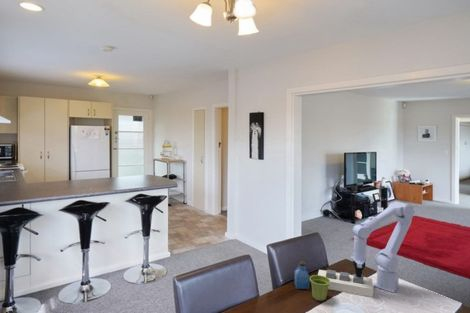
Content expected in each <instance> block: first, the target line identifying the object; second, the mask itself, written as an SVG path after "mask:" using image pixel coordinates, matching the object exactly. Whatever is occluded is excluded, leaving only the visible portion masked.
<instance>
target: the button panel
mask: <svg viewBox="0 0 470 313" xmlns="http://www.w3.org/2000/svg"><path fill="white" fill-rule="evenodd" d="M326 273H327V270H324V269H318V273H317V275H321V276H324V277H326ZM328 279H330V281H331V282H330V284H329V286H328V290H333V291H337V292H343V293H347V294H353V295H359V296H364V297H369V298H374V284H373V278H372V277H365V276H363V284H359V283H354V282H353V279H354V274H349V282H348V281H342V280H340V272H336V279H331V278H328Z"/></svg>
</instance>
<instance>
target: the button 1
mask: <svg viewBox="0 0 470 313" xmlns="http://www.w3.org/2000/svg"><path fill="white" fill-rule="evenodd" d="M326 271H327V273H326V277H327V278H331V279H336V273H337V271H336V270H333V269H326Z"/></svg>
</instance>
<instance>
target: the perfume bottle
mask: <svg viewBox="0 0 470 313" xmlns="http://www.w3.org/2000/svg"><path fill="white" fill-rule="evenodd" d="M310 277H311V276H310V275H309V271H308V270H307V264H306V262H305V261H303V260H301V261H299V264H298V266H297V267H296V269H295V270H294V281H293V283H294V285H295V289H296V290H297V289H298V290H309V289H310Z"/></svg>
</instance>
